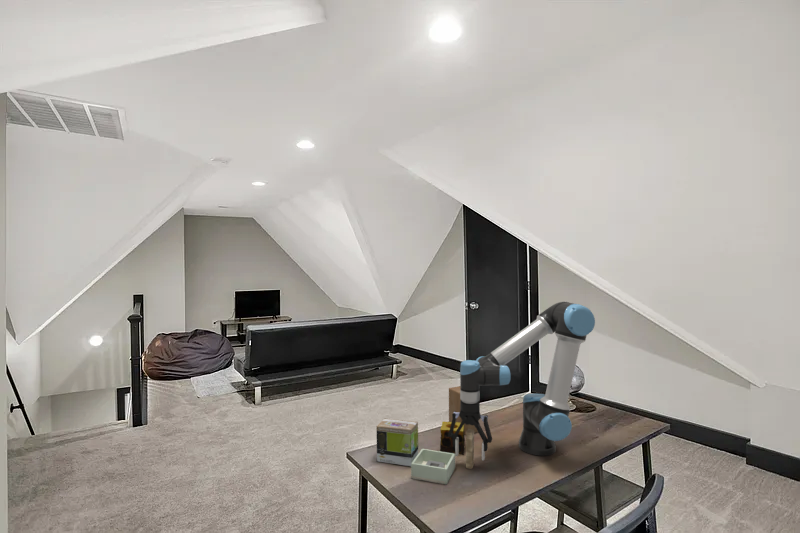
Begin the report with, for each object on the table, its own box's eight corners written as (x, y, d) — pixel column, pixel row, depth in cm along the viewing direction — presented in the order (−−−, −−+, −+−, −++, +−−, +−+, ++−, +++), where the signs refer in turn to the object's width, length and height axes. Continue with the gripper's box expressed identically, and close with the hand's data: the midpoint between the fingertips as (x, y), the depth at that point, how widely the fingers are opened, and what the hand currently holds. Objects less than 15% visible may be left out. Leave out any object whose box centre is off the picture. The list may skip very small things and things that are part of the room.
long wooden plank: (474, 464, 172) (473, 429, 171) (472, 469, 168) (472, 433, 168) (468, 463, 172) (468, 428, 172) (466, 468, 169) (465, 432, 168)
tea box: (418, 456, 179) (418, 421, 178) (411, 467, 169) (411, 430, 169) (384, 451, 184) (384, 416, 183) (376, 462, 174) (375, 425, 174)
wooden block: (448, 429, 208) (448, 387, 207) (465, 425, 212) (465, 384, 212) (460, 436, 199) (460, 393, 198) (478, 432, 203) (477, 390, 203)
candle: (464, 455, 180) (464, 431, 180) (439, 453, 182) (439, 429, 182) (465, 445, 190) (465, 422, 190) (442, 443, 192) (442, 420, 192)
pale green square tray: (455, 467, 169) (455, 453, 169) (446, 484, 156) (446, 469, 156) (422, 462, 174) (422, 448, 174) (411, 478, 161) (411, 463, 161)
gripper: (500, 400, 169) (500, 457, 170) (444, 394, 177) (444, 448, 177) (497, 406, 162) (497, 465, 163) (439, 400, 170) (440, 456, 170)
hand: (470, 456), depth 170 cm, fingers open, 10 cm apart
